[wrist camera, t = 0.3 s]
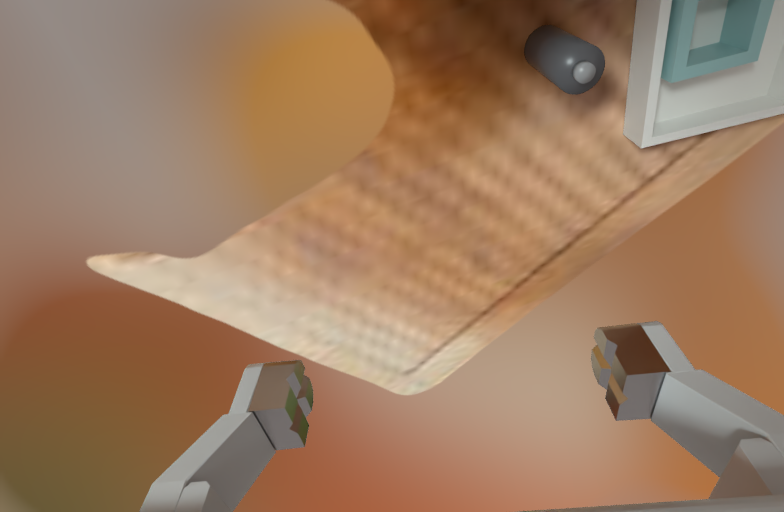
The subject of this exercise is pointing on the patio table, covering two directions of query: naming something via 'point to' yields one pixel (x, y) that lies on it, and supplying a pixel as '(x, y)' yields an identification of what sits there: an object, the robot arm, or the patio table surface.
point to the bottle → (564, 59)
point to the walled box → (703, 67)
